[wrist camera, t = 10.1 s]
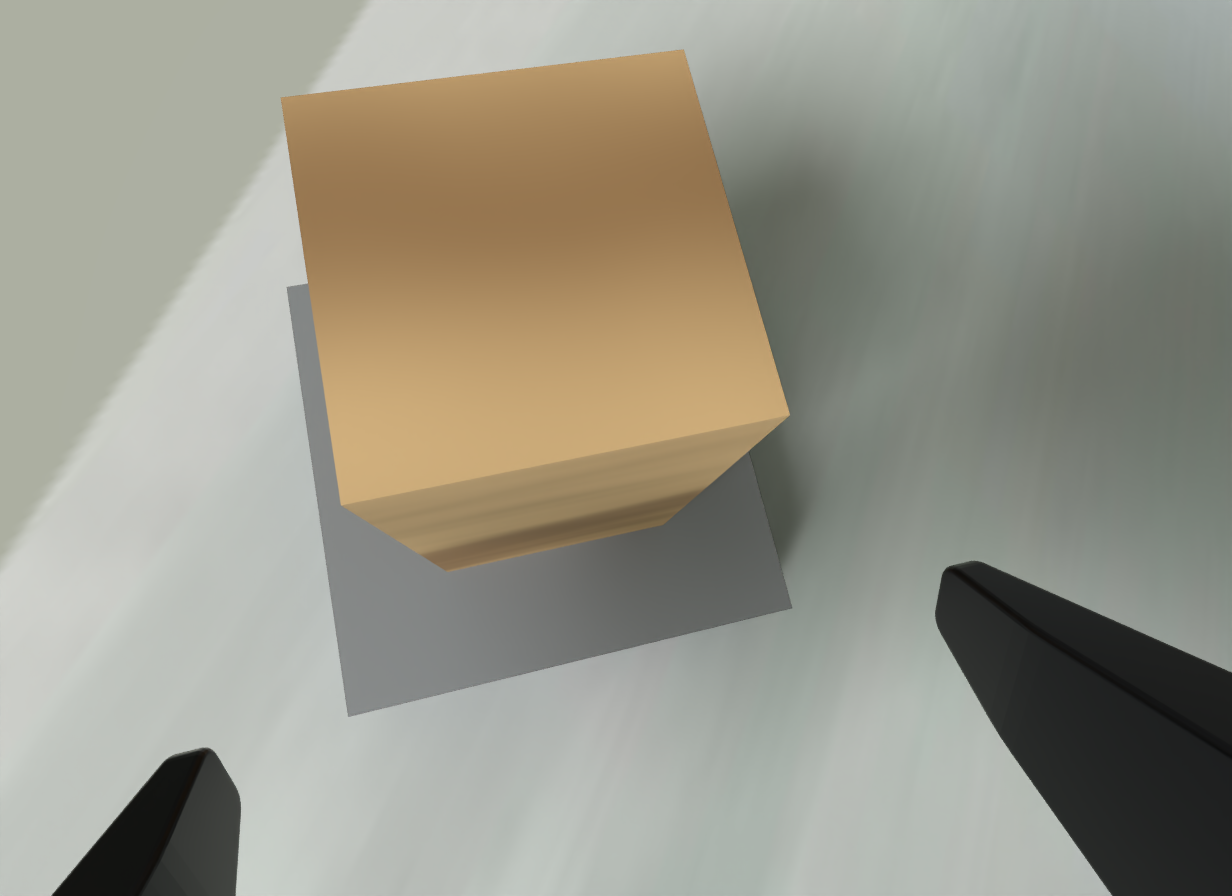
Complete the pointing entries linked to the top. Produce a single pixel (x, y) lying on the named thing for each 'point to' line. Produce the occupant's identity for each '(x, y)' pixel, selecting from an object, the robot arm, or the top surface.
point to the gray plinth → (525, 581)
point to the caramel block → (527, 304)
